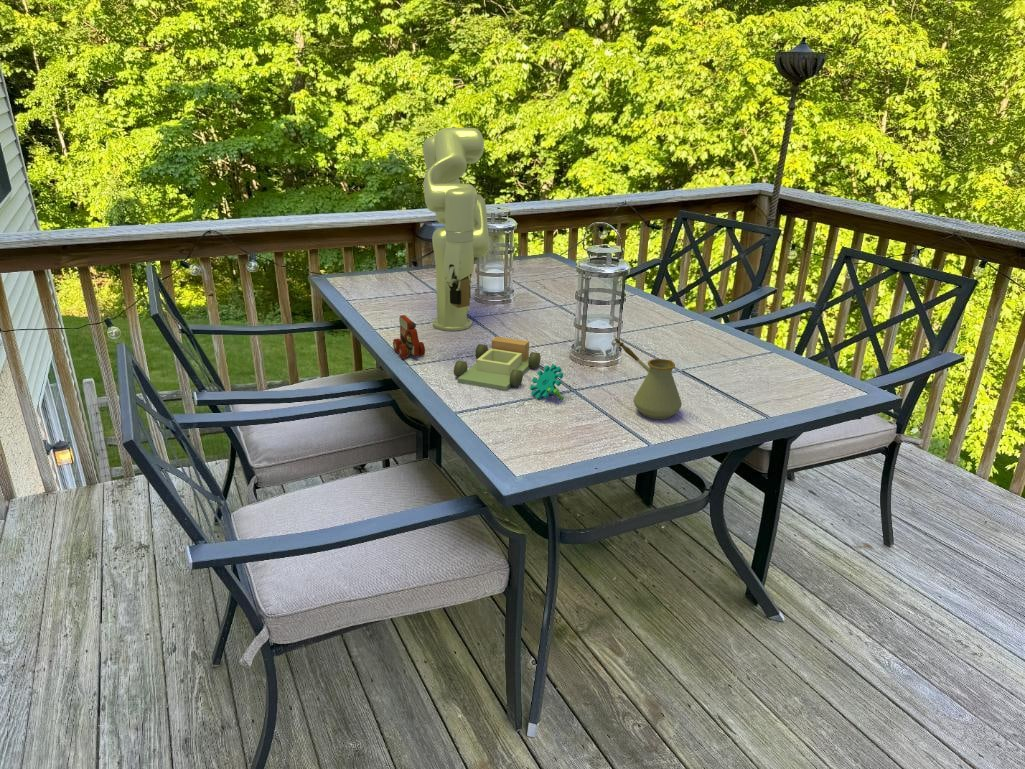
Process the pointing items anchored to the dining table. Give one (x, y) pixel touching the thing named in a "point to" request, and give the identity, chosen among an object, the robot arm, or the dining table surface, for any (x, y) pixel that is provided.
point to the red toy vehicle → (408, 339)
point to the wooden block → (464, 292)
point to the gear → (547, 382)
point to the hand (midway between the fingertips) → (460, 300)
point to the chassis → (498, 364)
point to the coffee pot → (656, 388)
